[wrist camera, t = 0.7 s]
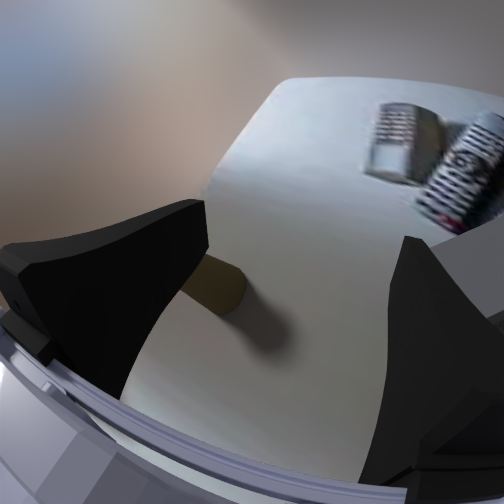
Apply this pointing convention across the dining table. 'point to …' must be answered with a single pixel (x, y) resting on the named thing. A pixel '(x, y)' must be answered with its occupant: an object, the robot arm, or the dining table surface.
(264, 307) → the dining table surface
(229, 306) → the cork
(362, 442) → the dining table surface
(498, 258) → the dark gray square block
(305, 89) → the dining table surface
